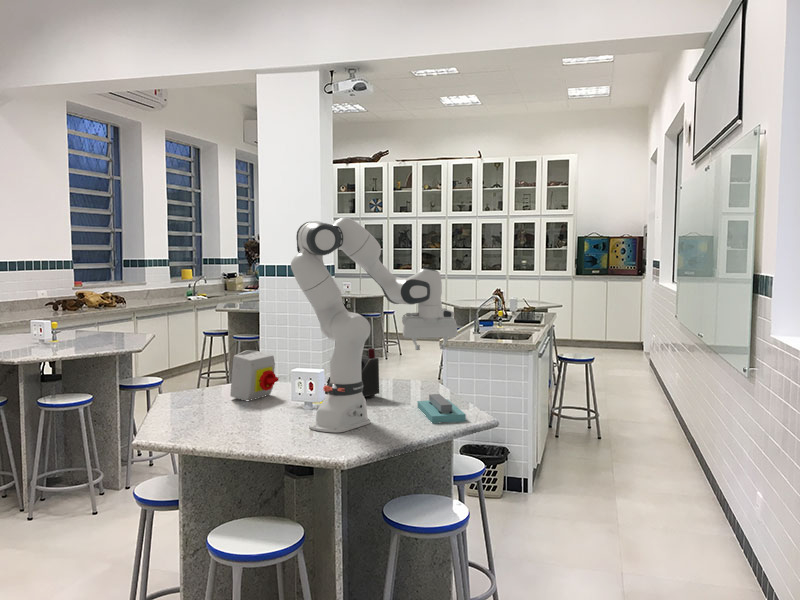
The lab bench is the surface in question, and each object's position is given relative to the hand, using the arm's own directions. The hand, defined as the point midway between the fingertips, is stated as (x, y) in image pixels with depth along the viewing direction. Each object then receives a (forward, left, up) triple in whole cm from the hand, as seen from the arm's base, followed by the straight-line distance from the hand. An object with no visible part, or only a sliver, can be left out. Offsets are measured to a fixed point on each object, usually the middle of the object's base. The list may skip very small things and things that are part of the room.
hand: (430, 349), depth 236 cm
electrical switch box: (-8, +76, -23) cm, 80 cm away
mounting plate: (-3, -5, -23) cm, 24 cm away
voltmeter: (+9, +40, -24) cm, 48 cm away
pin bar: (-3, -5, -23) cm, 24 cm away
